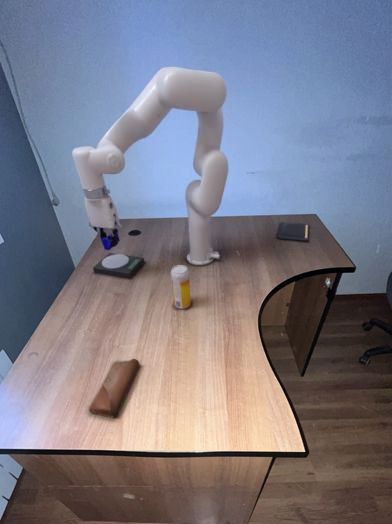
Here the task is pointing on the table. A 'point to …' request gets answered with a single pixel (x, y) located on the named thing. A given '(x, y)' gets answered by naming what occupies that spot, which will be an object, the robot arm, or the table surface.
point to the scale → (119, 265)
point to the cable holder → (108, 242)
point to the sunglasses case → (114, 389)
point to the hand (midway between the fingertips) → (110, 244)
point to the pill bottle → (180, 286)
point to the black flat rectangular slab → (293, 231)
